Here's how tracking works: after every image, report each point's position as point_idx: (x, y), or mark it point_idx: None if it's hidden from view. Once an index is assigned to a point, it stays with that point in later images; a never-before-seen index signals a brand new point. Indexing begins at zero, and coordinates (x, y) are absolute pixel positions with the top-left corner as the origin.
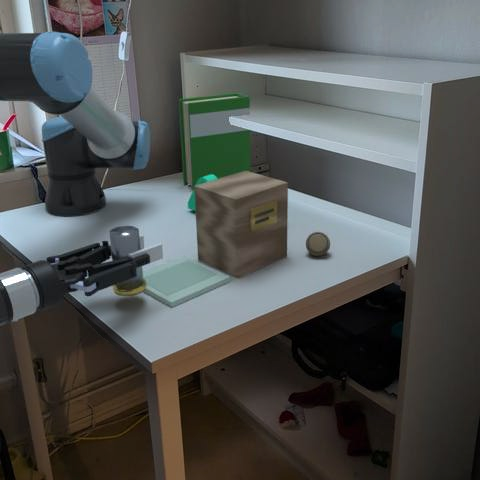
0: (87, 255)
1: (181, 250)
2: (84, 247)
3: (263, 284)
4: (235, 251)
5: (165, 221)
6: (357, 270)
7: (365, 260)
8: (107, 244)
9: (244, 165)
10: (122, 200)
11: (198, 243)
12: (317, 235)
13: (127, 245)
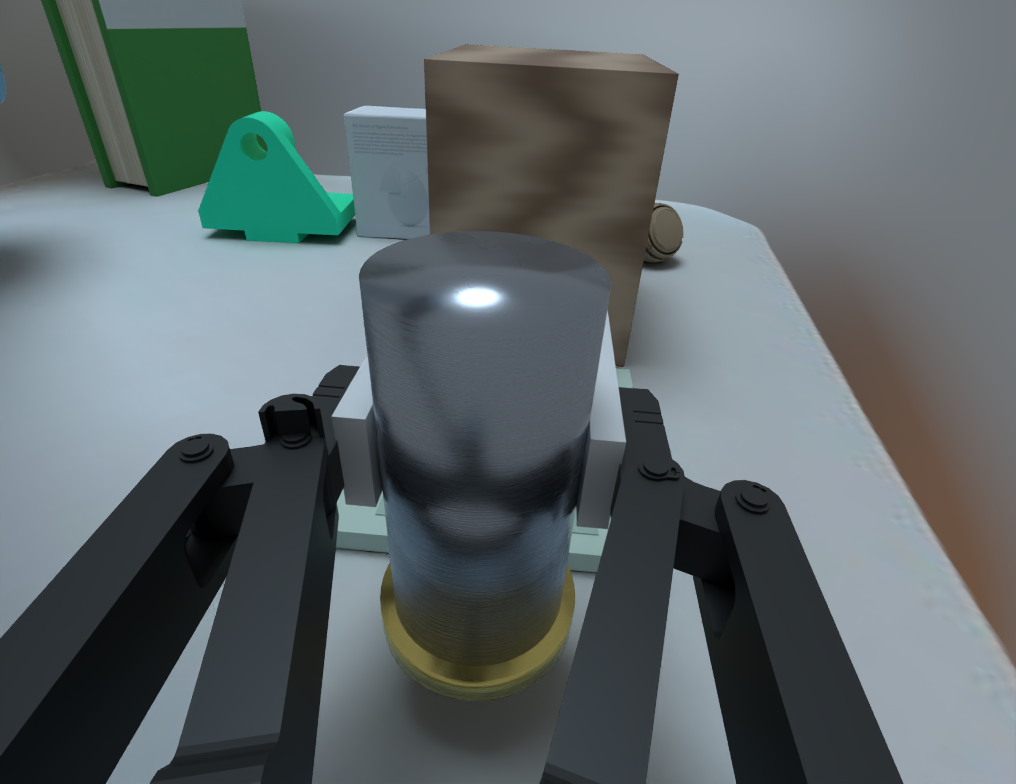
0: (269, 629)
1: (339, 339)
2: (111, 536)
3: (704, 360)
4: (630, 283)
5: (166, 273)
6: (766, 269)
7: (734, 249)
8: (322, 422)
9: None
10: None
11: None
12: (664, 210)
13: (592, 375)
